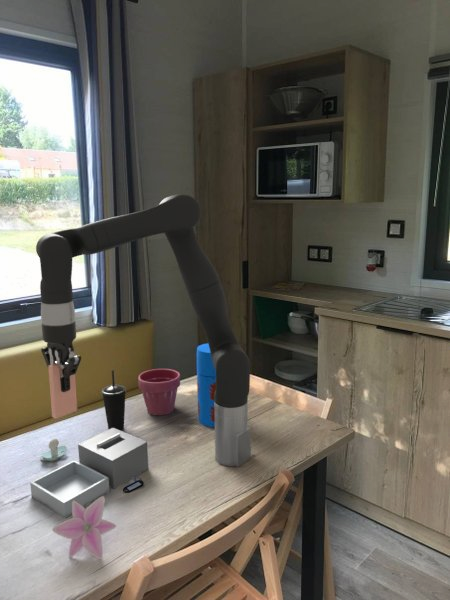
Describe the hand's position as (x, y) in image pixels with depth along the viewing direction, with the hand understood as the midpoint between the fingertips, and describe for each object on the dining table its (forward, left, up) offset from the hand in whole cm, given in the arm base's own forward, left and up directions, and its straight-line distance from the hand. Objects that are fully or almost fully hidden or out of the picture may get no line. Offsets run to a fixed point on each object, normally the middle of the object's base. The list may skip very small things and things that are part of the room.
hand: (63, 389), depth 120 cm
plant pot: (+17, -48, -28) cm, 58 cm away
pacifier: (+19, -7, -28) cm, 35 cm away
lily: (-19, +10, -28) cm, 35 cm away
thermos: (-3, -53, -28) cm, 60 cm away
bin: (0, +1, -28) cm, 28 cm away
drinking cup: (+18, -29, -28) cm, 44 cm away
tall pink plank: (0, 0, -6) cm, 6 cm away
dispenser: (0, -13, -28) cm, 31 cm away
